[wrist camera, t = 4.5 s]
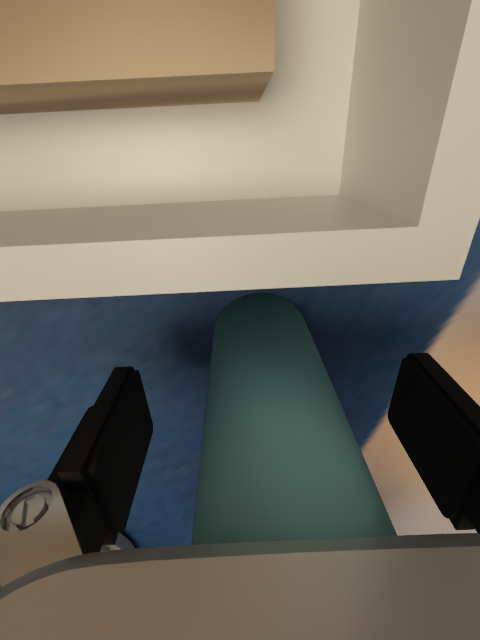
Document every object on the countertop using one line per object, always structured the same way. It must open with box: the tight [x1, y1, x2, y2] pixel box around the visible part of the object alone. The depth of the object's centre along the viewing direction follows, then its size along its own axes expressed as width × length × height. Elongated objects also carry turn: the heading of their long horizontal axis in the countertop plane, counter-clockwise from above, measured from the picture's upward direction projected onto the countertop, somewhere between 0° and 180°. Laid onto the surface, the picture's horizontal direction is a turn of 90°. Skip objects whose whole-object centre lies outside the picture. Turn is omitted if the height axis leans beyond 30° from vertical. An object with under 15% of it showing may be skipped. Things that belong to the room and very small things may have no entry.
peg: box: [192, 293, 397, 545], centre depth 9 cm, size 4×4×12 cm
